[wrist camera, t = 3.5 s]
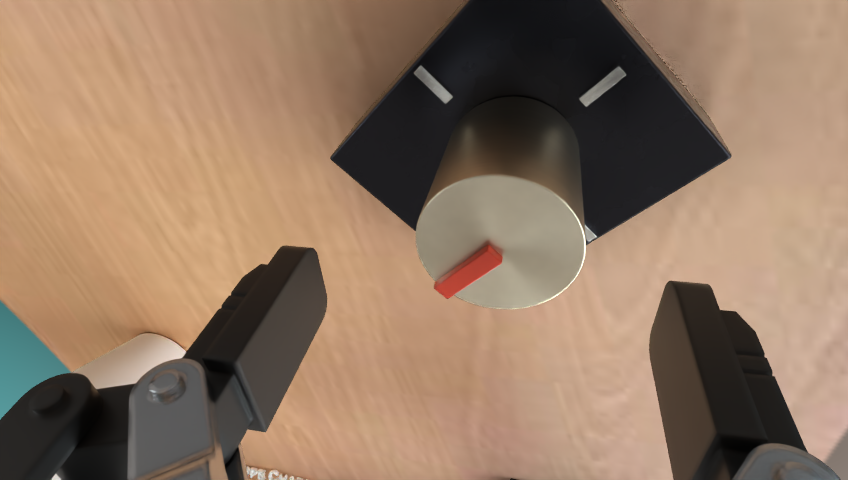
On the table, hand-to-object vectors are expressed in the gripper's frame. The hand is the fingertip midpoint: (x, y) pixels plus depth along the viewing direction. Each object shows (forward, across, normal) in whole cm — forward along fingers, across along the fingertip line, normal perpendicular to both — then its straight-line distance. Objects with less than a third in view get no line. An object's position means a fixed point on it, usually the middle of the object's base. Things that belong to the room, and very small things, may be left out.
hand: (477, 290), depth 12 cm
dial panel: (+10, 0, 0) cm, 10 cm away
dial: (+7, 0, 0) cm, 7 cm away
